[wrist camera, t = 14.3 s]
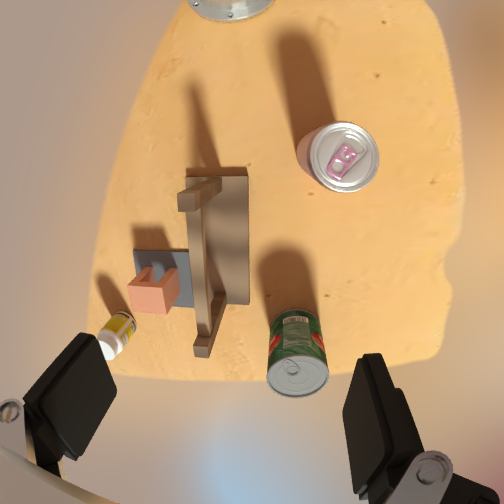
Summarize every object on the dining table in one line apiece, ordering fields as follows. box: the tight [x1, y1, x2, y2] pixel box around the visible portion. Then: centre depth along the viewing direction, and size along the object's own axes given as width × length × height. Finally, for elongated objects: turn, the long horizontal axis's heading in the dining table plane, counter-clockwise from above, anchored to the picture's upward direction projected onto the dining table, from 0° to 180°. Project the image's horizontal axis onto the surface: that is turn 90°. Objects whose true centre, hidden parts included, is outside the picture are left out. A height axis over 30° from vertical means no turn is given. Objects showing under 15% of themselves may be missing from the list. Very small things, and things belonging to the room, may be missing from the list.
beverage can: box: [296, 121, 379, 193], centre depth 28 cm, size 6×6×15 cm
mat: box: [133, 250, 194, 308], centre depth 42 cm, size 9×9×1 cm
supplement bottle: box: [97, 311, 136, 360], centre depth 43 cm, size 5×5×8 cm
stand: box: [177, 176, 250, 358], centre depth 33 cm, size 18×8×14 cm, turn 0°
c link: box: [127, 267, 181, 315], centre depth 39 cm, size 4×5×6 cm
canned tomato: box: [267, 309, 329, 398], centre depth 39 cm, size 8×8×11 cm
